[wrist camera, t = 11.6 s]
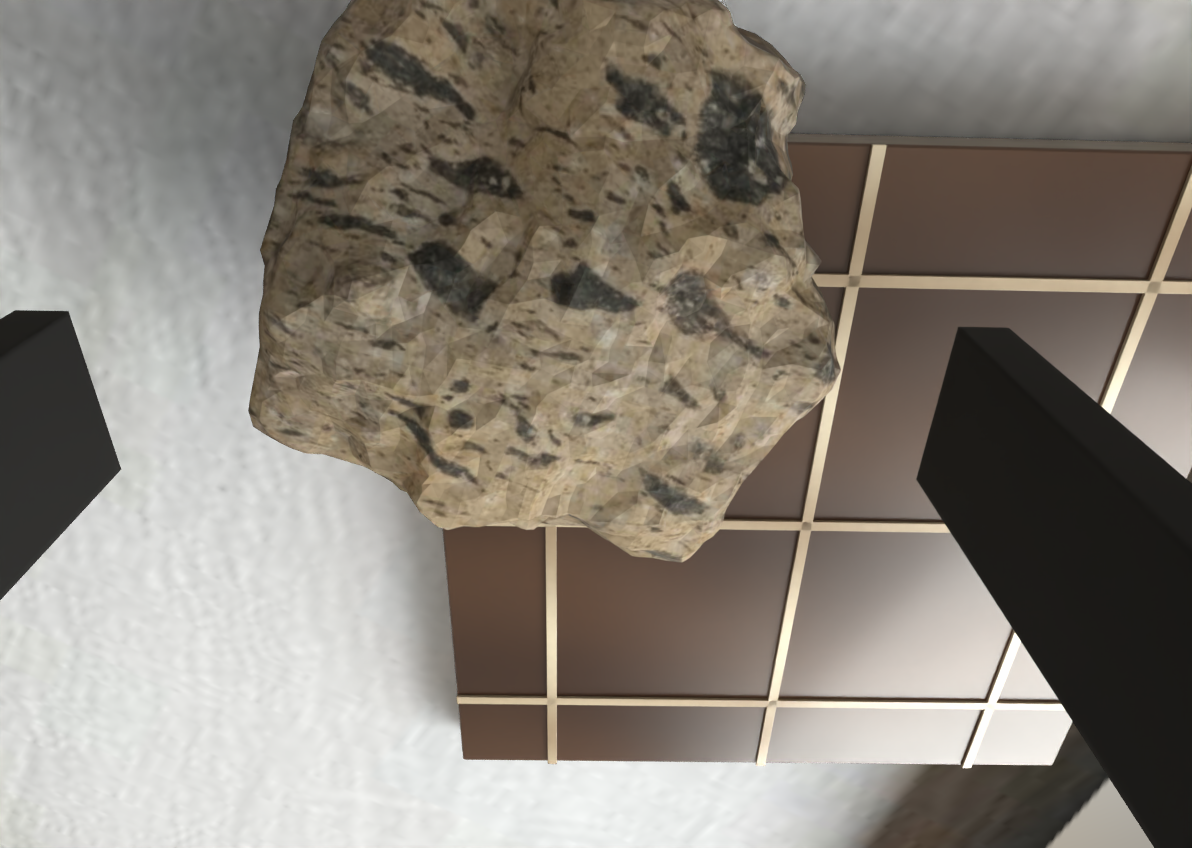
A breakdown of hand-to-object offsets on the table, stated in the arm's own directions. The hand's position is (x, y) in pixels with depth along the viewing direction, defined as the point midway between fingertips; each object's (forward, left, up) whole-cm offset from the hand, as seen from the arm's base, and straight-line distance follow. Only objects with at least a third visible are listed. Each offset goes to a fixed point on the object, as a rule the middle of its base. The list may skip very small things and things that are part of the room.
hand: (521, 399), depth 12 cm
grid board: (+7, +7, -8) cm, 13 cm away
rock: (0, 0, -7) cm, 7 cm away
